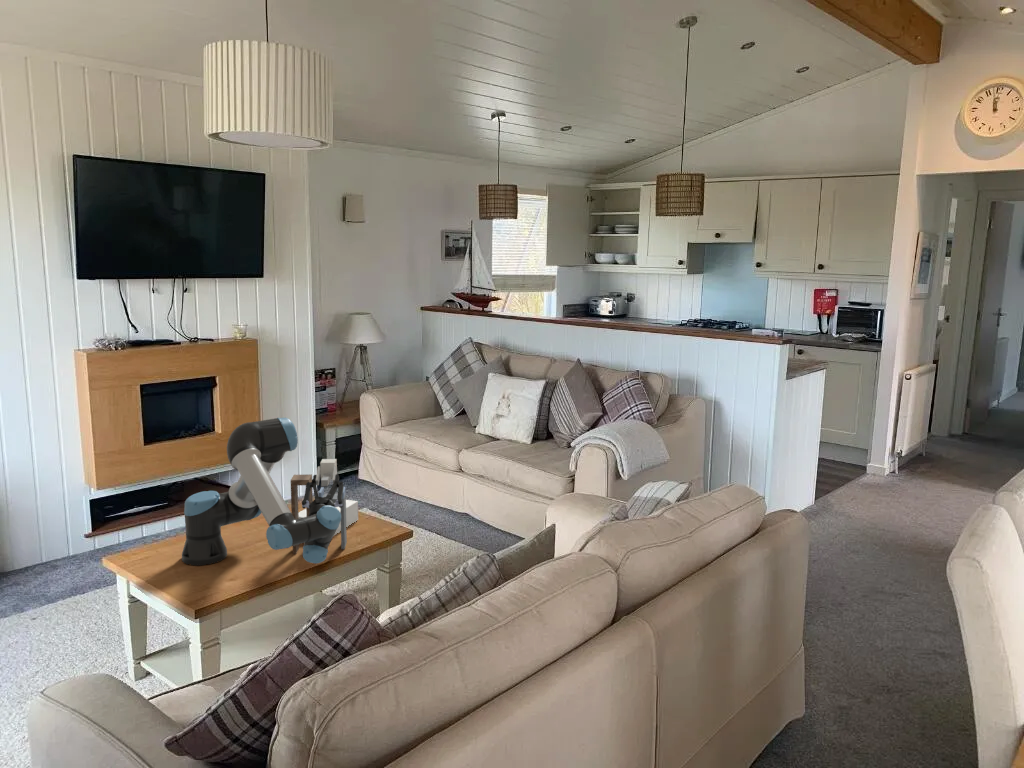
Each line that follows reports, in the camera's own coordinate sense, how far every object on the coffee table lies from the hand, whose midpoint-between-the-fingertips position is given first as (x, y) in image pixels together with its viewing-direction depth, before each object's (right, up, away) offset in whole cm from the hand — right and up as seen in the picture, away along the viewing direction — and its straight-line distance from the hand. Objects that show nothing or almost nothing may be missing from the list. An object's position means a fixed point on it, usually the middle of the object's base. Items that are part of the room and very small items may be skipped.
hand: (327, 469), depth 270 cm
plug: (0, -4, -1) cm, 4 cm away
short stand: (-2, -31, +20) cm, 37 cm away
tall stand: (-13, -32, +15) cm, 37 cm away
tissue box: (-10, -28, +38) cm, 49 cm away
